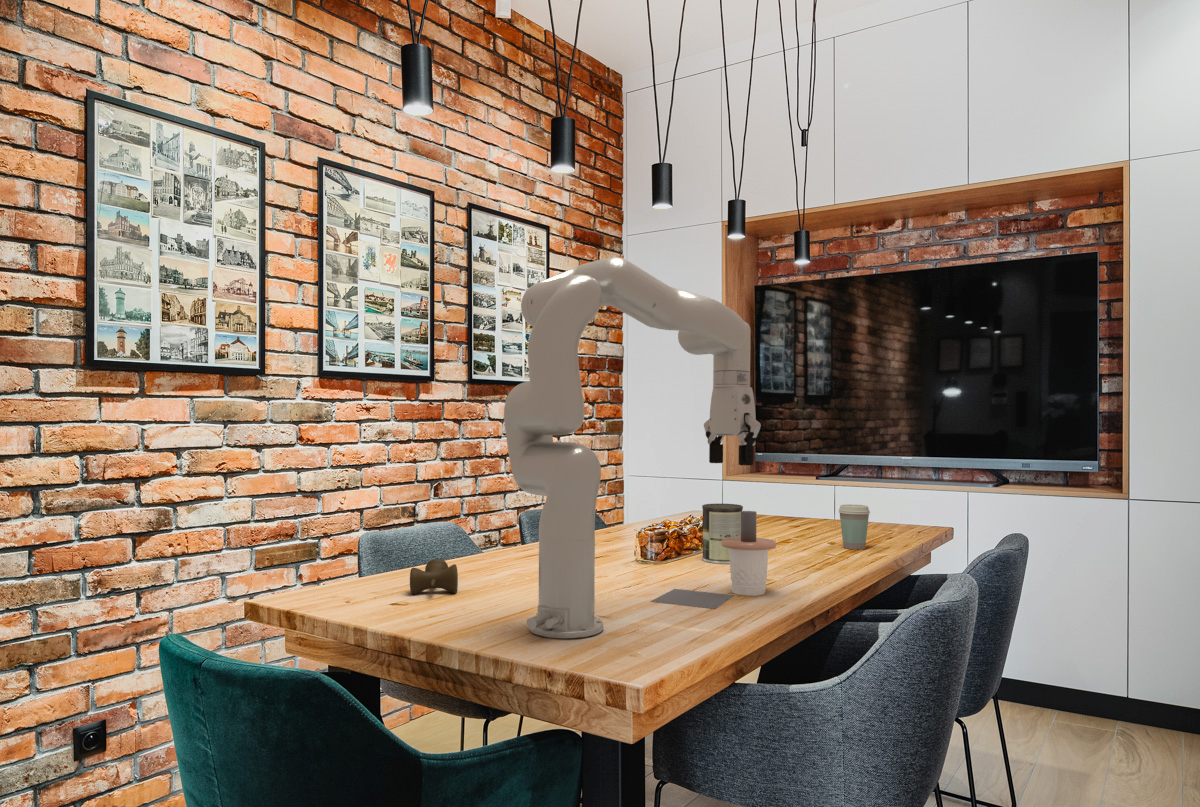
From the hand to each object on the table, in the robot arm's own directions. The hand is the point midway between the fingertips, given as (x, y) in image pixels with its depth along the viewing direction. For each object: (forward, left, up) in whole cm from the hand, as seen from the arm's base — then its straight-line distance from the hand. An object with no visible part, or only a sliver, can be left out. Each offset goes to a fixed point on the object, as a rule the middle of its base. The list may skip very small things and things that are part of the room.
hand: (730, 464), depth 160 cm
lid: (+2, -3, -17) cm, 17 cm away
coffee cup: (+75, -13, -27) cm, 81 cm away
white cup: (+2, -3, -27) cm, 27 cm away
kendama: (-24, +57, -27) cm, 67 cm away
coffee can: (+38, +14, -27) cm, 49 cm away
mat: (-9, +5, -27) cm, 29 cm away
